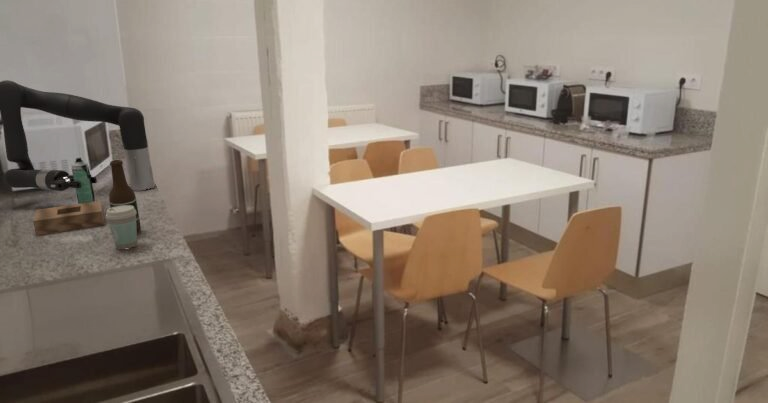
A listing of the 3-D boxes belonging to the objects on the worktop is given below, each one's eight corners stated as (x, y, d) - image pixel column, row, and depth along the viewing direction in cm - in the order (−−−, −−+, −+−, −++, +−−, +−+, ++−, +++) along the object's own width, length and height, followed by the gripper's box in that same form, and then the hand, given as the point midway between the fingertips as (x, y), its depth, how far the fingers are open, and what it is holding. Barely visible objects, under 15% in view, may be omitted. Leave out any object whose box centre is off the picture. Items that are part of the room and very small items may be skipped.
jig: (103, 213, 203) (101, 200, 201) (104, 225, 191) (101, 211, 189) (40, 223, 195) (37, 209, 193) (36, 235, 183) (33, 221, 181)
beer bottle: (146, 229, 185) (134, 158, 178) (129, 238, 178) (116, 164, 171) (127, 228, 187) (115, 157, 180) (109, 235, 180) (96, 162, 173)
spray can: (100, 208, 209) (90, 156, 203) (91, 213, 204) (80, 159, 198) (86, 208, 210) (75, 156, 204) (77, 213, 205) (66, 159, 199)
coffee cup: (117, 242, 175) (111, 205, 171) (145, 240, 175) (139, 203, 172) (107, 252, 167) (99, 214, 163) (136, 250, 167) (130, 212, 164)
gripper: (33, 174, 201) (69, 177, 195) (67, 165, 214) (101, 167, 208) (38, 195, 203) (73, 198, 198) (71, 184, 216) (105, 187, 211)
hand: (88, 182), depth 203 cm, fingers open, 6 cm apart
